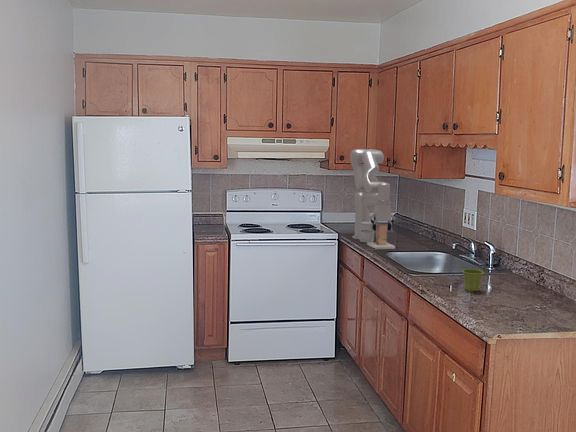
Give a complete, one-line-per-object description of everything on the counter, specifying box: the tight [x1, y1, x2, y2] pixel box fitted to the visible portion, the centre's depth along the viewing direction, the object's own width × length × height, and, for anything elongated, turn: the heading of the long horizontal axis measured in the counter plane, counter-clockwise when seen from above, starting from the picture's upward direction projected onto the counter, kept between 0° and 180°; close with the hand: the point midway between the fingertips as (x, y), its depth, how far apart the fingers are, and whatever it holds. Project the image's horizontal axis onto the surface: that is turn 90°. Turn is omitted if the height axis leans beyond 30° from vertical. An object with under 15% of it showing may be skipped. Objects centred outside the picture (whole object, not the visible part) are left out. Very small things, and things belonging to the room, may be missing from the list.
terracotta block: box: [375, 224, 388, 236], centre depth 381 cm, size 5×5×6 cm
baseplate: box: [366, 241, 396, 250], centre depth 382 cm, size 14×13×2 cm
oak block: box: [375, 233, 388, 245], centre depth 382 cm, size 5×5×6 cm
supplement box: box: [359, 221, 375, 244], centre depth 398 cm, size 7×7×13 cm
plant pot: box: [461, 268, 484, 292], centre depth 278 cm, size 9×9×9 cm
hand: (381, 230), depth 381 cm, fingers open, 9 cm apart
